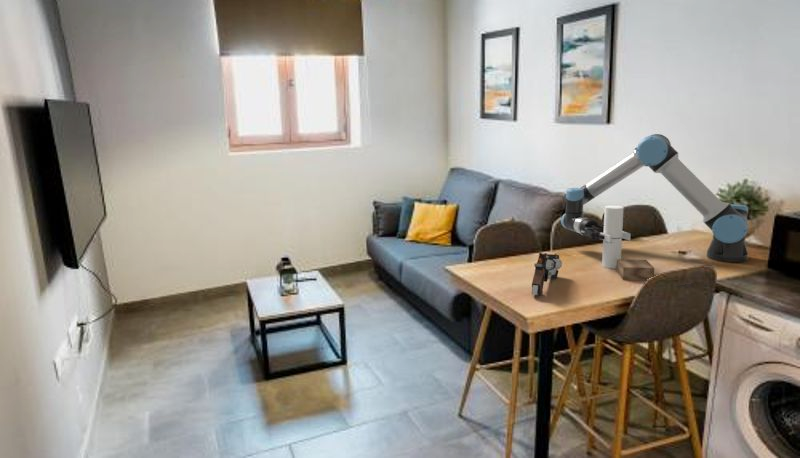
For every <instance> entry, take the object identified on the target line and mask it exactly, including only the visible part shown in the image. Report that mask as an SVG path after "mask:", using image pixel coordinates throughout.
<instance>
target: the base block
mask: <svg viewBox="0 0 800 458" xmlns="http://www.w3.org/2000/svg"><path fill="white" fill-rule="evenodd" d="M615 272H617V274H618V275H619V277H620V278H621V279H622V280H623V281H648V280H647V279H649V278H651V277H653V276H654V274H655V267H654V266H653V265H652V264H651V263H650V262H649V261H648V260H647V259H627V258H626V259H625V258H624V259H622V258H621V259H617V268H616V271H615Z"/></svg>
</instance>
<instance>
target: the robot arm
mask: <svg viewBox="0 0 800 458" xmlns="http://www.w3.org/2000/svg"><path fill="white" fill-rule="evenodd" d="M644 167H646V168H647V167H648V168H650V170H652V172H653V173H654V174H661V175H662V176H663V177H664V178H665V179H666V180H667V182H669V183H670V184H671V185H672V186H673V187H674V188H675V189H676V190H677V191H678V192H679V193H680V194H681V195H682V197H684V198H685V200H686V201H688V202H689V203H690V204H691V206H692V207H694V208H695V209H696V211H698V212H699V213H700V215H702V216H703V220H702V223H704V225H706V226H707V227H708V228H709V230H711V232H712V240H711V242H710V244H709V245H708V248H707V251H706V257H707V258H709V259H710V260H714V261H718V262H723V263H724V262H727V263H743V262H747V261H748V260H749V252H748V249H747V245H746V242H745V241H746V235H747V233H748V229H749V228H748V227H749V226H748V214H749V207H748V206H747V205H744V204H731V203H729V202H724V201H722V200H721V199H719V198H718V197H717V195H716V194H714V193H713V192H712V191H711V190H710V188H708V186H707V185H705V183H704V182H702V181H701V180H700V179H699V178H698V176H696V175H695V173H693V172H692V170H690V169H689V168H688V166H686V165H685V163H684V162H682V161H681V160H680V159H679V152H678V151H677V150H676V149H675V148H674V147H673V146H672V144H671V141H670V139H669V138H668V137H666V136H665V135H664V134H659V133H655V134H653V133H652V134H650V135H648V136H645V137H644V138H643V139H641V140H640V142H639V143H638V144H637V147H635V148H634V149H633V152H631V153H630V154H629V155H628V156H626V157H624V158H623V159H621V160H620V161H618V162H617V163H615V164H614V165H612V166H610V167H609V168H608V169H606V170H605V171H603V172H602V173H601V174H598V175H597V176H596V177H594V178H593V179H592V180H589V181H588V182H587V183H586V184H583V186H580V187H569V188H567V189H566V193H565V213H564V214H563V215H562V217H561V218H560V225H562V227H563V228H565V229H566V230H568V231H572V232H575V233H578V234H580V235H581V236H586V237H588V238H589V239H592V240H594V238H596V239H595V241H596V242H597V241H599V240H602V241H603V240H604V241H607V242H609V243H610V242H611V237H612V236H610V235H607V234H605V233H603V232H604V226H601V224H599V223H598V222H597V221H596V220H594V219H591V218H589V217H584V215H583V214H584V205H586V204H587V203H589V202H591V201H592V200H593V199H595V198H597V197H598V196H600V195H601V194H602V193H604V192H605V191H607V190H609V189H610V188H612V187H614V186H615V185H617V184H618V183H620V182H621V181H623V180H625V179H627V178H628V177H629V176H630V175H632V174H634V173H635V172H637V171H638V170H640V169H641V168H644ZM624 231H625V228H623V229H622V240H623V239H624V240H626V241H631V233H630V232H626V231H625V232H624Z"/></svg>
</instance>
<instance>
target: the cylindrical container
mask: <svg viewBox="0 0 800 458" xmlns="http://www.w3.org/2000/svg"><path fill="white" fill-rule="evenodd" d="M603 214H604V232H603V233H605V234H607V235H610V236H612V237H611V242H610V243H609V242H607V241H604V240H602V255H601V256H602V258H601V267H603V268H606V269H617V259H622V246H623V245H622V244H623V243H622V242H623V238H622V228H623V223H624V206H623V205H618V204H617V205H616V204H615V205H614V204H611V205H609V204H608V205H605V206H604V212H603Z"/></svg>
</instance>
